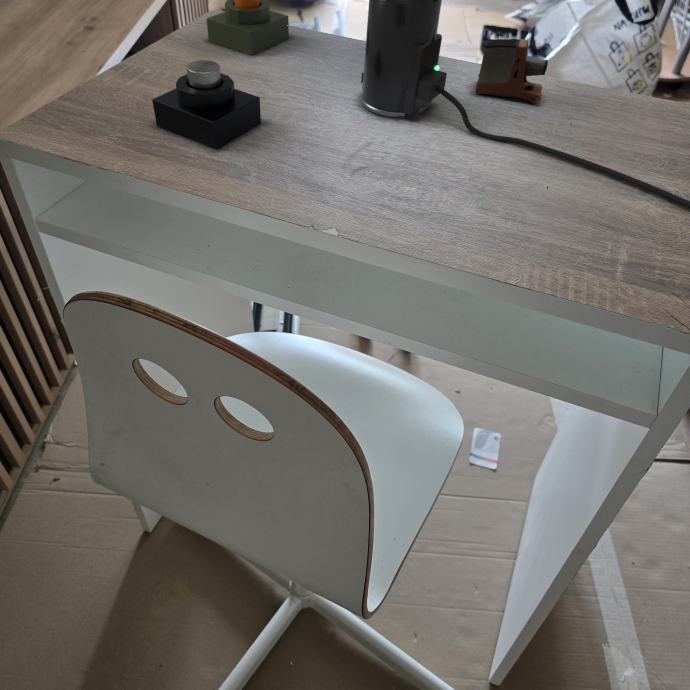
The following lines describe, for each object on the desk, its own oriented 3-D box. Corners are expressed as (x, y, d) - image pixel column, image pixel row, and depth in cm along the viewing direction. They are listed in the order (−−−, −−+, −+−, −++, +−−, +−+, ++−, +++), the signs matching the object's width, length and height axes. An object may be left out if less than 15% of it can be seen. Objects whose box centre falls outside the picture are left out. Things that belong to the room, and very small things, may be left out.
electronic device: (538, 105, 88) (553, 52, 83) (473, 95, 90) (484, 41, 84) (540, 94, 91) (555, 41, 86) (477, 84, 93) (487, 31, 87)
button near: (228, 84, 76) (226, 65, 74) (206, 95, 73) (204, 75, 71) (203, 76, 77) (201, 57, 75) (182, 86, 74) (179, 67, 73)
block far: (247, 25, 105) (244, -10, 101) (288, 38, 102) (288, 2, 98) (208, 41, 99) (204, 4, 95) (251, 55, 96) (249, 17, 92)
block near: (261, 123, 80) (259, 81, 76) (216, 149, 74) (211, 106, 70) (203, 102, 83) (198, 61, 79) (156, 125, 78) (149, 83, 74)
